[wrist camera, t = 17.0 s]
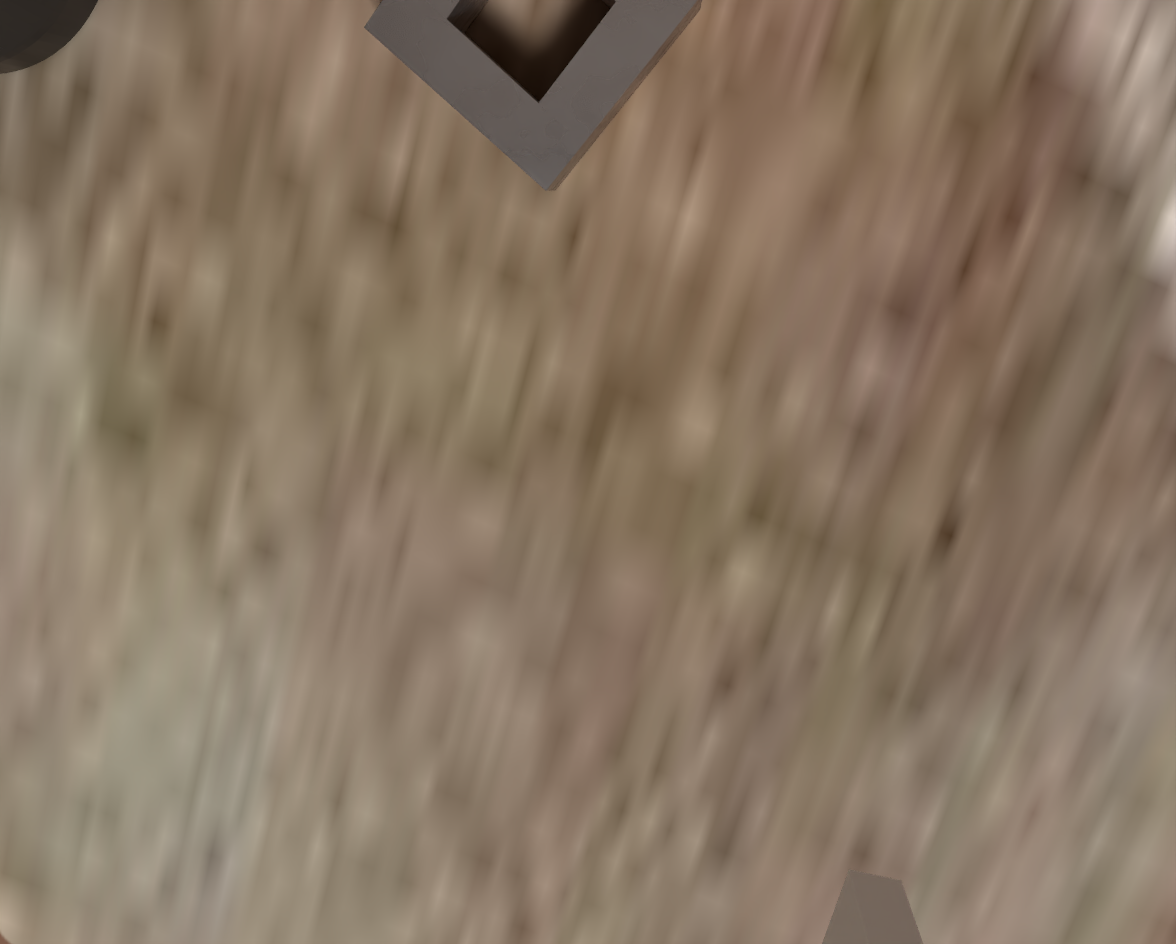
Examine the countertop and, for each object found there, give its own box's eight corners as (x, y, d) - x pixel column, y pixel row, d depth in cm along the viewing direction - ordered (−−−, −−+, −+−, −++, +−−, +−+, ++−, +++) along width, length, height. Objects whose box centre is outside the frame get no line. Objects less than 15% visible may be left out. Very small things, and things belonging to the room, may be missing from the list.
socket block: (389, 40, 40) (364, 27, 36) (526, -160, 37) (512, -194, 33) (555, 190, 41) (546, 190, 38) (700, 9, 38) (703, -8, 35)
